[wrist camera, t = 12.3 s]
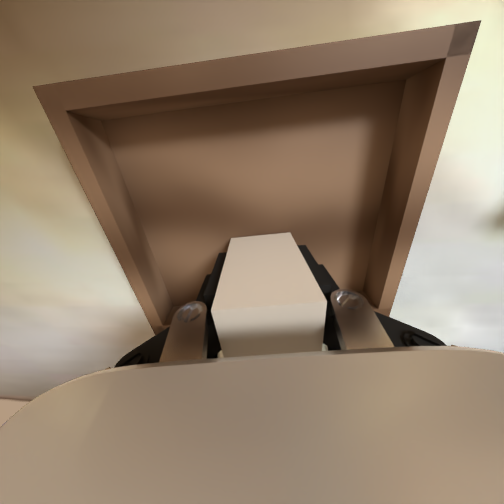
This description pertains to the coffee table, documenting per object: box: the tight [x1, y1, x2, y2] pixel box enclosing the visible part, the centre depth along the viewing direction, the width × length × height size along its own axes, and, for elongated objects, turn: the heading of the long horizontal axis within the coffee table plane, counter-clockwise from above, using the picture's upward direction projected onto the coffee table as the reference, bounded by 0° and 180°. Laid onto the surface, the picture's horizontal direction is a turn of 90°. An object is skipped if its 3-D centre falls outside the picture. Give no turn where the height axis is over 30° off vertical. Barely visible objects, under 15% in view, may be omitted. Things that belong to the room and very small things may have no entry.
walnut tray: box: [33, 20, 481, 335], centre depth 10 cm, size 13×16×2 cm
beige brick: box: [211, 232, 327, 358], centre depth 9 cm, size 4×4×6 cm
